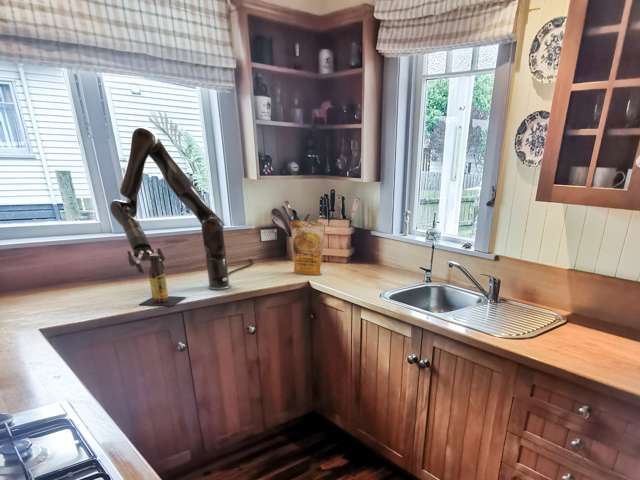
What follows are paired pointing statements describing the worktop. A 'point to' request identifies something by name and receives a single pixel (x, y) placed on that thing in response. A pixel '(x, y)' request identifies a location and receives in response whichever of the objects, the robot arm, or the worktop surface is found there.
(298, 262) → the pancake mix bag
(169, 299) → the mat
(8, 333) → the worktop surface
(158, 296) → the sauce bottle
